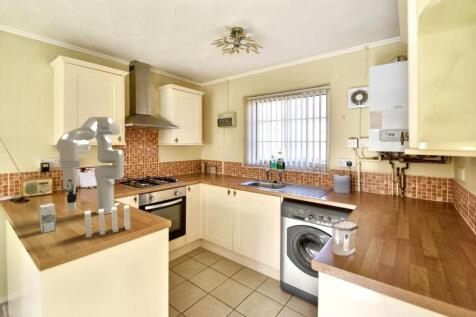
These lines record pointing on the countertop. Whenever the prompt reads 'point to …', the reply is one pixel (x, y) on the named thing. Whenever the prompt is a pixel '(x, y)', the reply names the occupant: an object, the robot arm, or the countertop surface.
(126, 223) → the domino
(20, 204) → the countertop surface
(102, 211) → the domino
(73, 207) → the sage domino
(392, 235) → the countertop surface
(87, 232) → the domino
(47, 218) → the syrup box
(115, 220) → the domino
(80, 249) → the countertop surface
